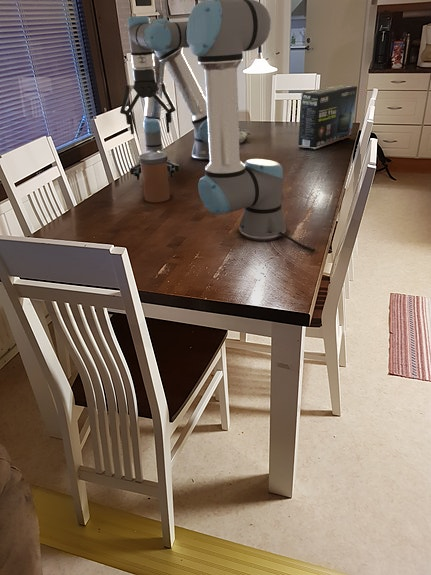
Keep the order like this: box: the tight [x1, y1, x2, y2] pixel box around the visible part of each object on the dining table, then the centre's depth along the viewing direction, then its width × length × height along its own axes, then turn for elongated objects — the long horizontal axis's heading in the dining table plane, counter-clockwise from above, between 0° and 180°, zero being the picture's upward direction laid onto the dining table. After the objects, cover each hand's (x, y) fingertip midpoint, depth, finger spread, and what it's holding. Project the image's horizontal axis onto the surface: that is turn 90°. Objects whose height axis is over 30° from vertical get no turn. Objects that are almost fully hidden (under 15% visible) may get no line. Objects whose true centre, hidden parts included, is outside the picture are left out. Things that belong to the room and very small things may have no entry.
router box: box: [297, 84, 358, 151], centre depth 238 cm, size 36×11×27 cm, turn 134°
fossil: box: [239, 127, 251, 145], centre depth 256 cm, size 18×11×15 cm
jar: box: [140, 160, 171, 203], centre depth 177 cm, size 10×10×16 cm
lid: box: [138, 151, 169, 164], centre depth 173 cm, size 11×11×2 cm
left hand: (154, 175), depth 185 cm, fingers open, 13 cm apart
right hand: (150, 132), depth 168 cm, fingers open, 12 cm apart
